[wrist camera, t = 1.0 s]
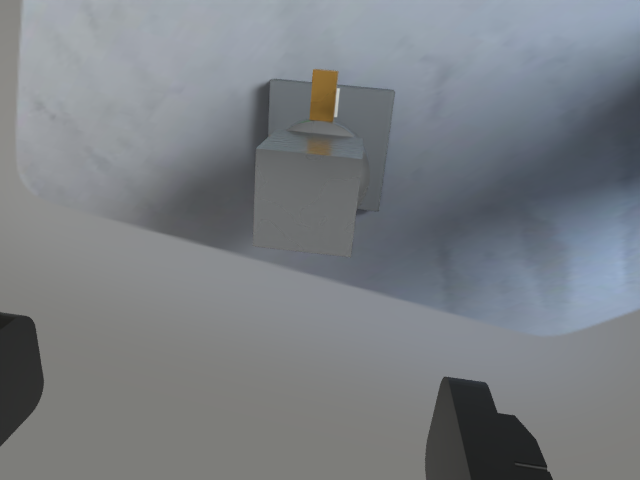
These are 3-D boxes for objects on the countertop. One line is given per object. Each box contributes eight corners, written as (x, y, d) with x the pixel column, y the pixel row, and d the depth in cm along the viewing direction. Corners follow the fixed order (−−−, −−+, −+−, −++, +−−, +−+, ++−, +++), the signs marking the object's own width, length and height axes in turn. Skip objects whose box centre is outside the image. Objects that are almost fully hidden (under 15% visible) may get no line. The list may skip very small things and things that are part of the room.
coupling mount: (393, 90, 31) (401, 100, 25) (378, 204, 34) (381, 240, 28) (274, 78, 32) (251, 86, 25) (269, 193, 35) (247, 226, 28)
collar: (381, 74, 24) (387, 83, 18) (363, 221, 27) (362, 270, 21) (273, 64, 25) (242, 69, 18) (266, 210, 28) (239, 257, 21)
